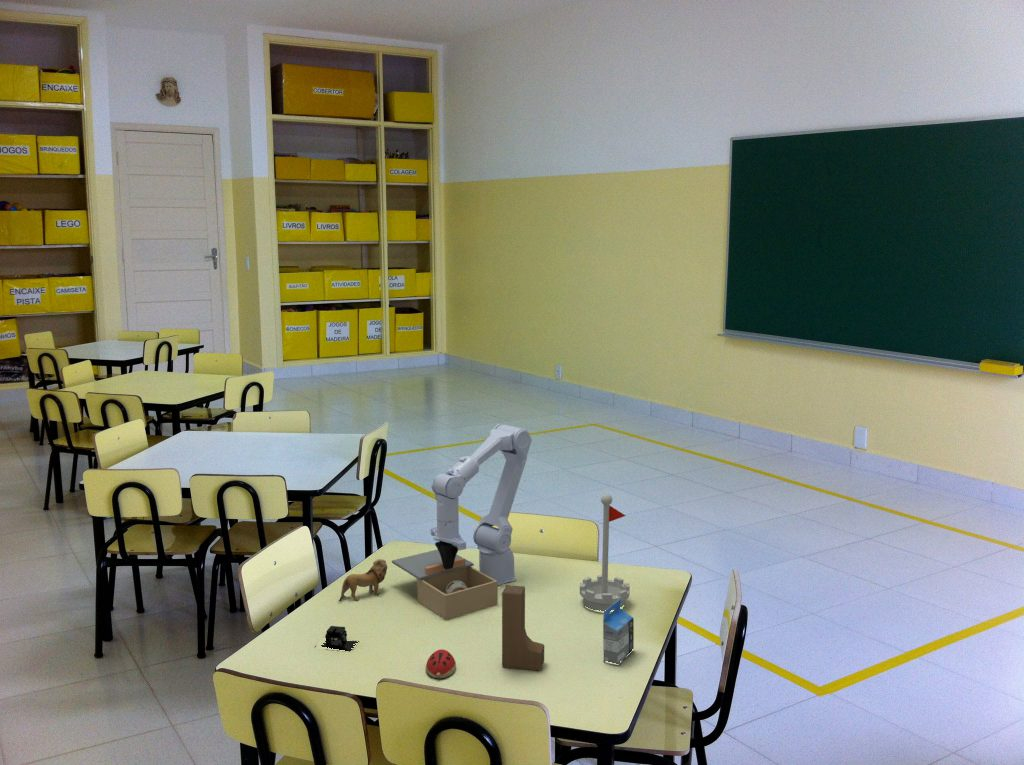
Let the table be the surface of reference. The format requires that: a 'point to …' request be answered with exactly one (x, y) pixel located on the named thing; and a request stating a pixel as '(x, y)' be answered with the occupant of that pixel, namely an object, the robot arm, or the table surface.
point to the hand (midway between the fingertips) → (448, 568)
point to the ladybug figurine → (440, 664)
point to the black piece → (338, 639)
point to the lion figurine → (365, 579)
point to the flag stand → (605, 571)
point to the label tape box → (617, 634)
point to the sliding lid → (429, 564)
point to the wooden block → (518, 633)
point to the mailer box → (458, 593)
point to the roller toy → (455, 587)
